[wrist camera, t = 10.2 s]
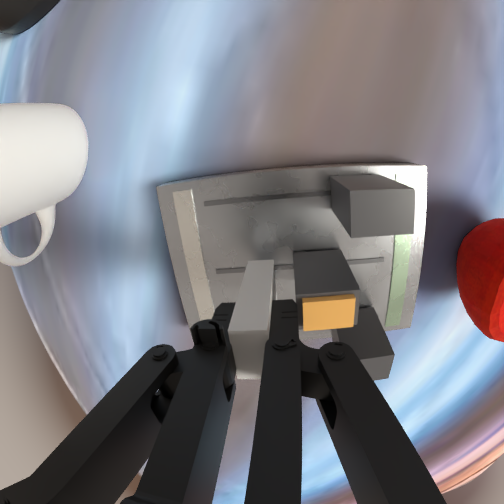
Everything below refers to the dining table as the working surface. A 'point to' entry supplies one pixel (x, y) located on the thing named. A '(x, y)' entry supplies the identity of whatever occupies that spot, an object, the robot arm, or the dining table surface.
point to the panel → (286, 236)
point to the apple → (483, 277)
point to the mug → (38, 165)
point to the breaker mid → (325, 290)
